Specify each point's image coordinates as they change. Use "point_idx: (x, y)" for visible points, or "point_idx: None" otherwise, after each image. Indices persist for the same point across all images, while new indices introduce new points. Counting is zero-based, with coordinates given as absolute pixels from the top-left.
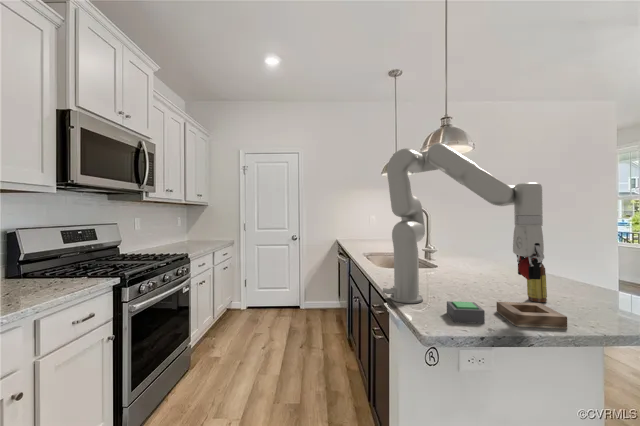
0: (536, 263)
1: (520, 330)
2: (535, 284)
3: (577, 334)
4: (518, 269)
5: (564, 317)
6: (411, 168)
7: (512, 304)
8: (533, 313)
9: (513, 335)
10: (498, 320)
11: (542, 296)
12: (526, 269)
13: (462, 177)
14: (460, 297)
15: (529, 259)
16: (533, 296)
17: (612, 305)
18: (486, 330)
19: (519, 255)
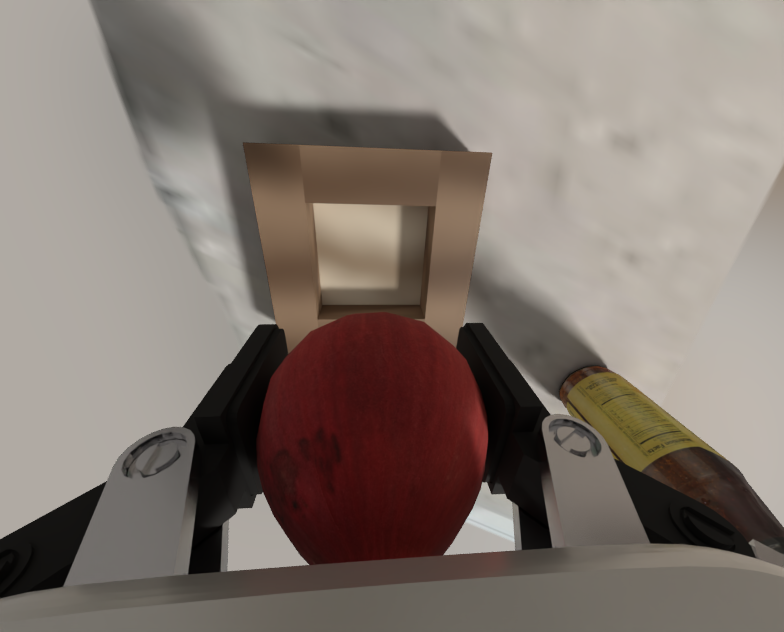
0: (54, 524)
1: (212, 138)
2: (618, 425)
3: (242, 331)
4: (413, 324)
5: None
6: None
7: (436, 220)
8: (296, 249)
9: (118, 57)
10: (337, 92)
11: (571, 405)
12: (279, 370)
13: None
14: (762, 40)
15: (143, 551)
16: (587, 382)
17: (507, 509)
18: None
19: (445, 556)
